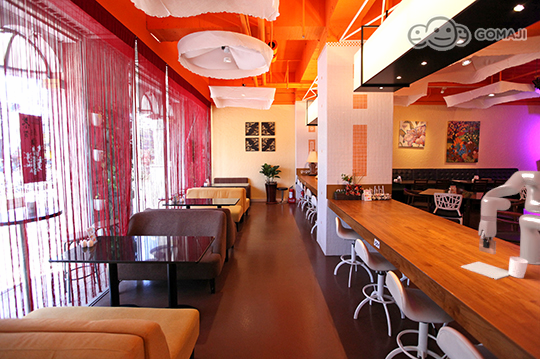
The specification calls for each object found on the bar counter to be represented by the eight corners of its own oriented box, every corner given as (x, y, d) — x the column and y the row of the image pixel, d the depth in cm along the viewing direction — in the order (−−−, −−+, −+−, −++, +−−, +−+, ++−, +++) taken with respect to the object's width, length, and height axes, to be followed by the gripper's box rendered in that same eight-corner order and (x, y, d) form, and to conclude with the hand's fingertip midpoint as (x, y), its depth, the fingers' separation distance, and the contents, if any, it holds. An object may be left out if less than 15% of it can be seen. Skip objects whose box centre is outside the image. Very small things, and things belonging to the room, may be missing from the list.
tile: (481, 249, 170) (481, 237, 170) (495, 253, 163) (496, 241, 162) (479, 250, 170) (479, 238, 169) (493, 254, 162) (494, 241, 162)
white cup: (507, 270, 163) (509, 255, 162) (524, 275, 158) (527, 259, 157) (507, 275, 157) (510, 259, 156) (525, 280, 152) (528, 264, 151)
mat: (478, 262, 179) (478, 261, 179) (514, 273, 161) (514, 272, 161) (460, 267, 173) (460, 266, 173) (496, 279, 154) (496, 278, 154)
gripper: (489, 216, 171) (488, 244, 172) (473, 218, 165) (472, 247, 167) (503, 218, 164) (502, 247, 165) (487, 220, 158) (486, 251, 160)
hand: (487, 247), depth 166 cm, fingers closed on tile, 1 cm apart
